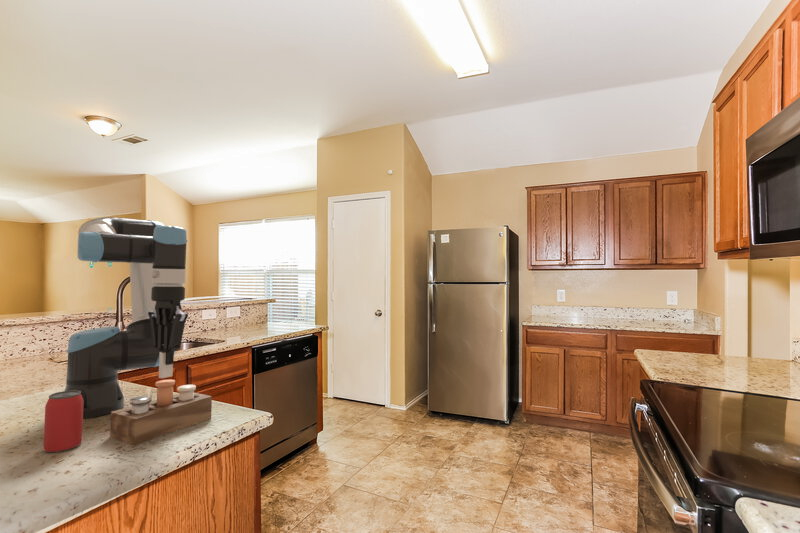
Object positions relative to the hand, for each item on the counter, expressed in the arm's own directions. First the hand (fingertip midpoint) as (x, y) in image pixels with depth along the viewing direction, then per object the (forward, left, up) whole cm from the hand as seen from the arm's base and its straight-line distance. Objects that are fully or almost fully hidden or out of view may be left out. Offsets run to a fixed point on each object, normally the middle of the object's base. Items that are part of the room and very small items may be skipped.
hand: (165, 376), depth 101 cm
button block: (0, 0, -13) cm, 13 cm away
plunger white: (0, +6, -11) cm, 12 cm away
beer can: (-8, -18, -13) cm, 24 cm away
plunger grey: (0, -6, -11) cm, 12 cm away
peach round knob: (0, 0, -8) cm, 8 cm away
